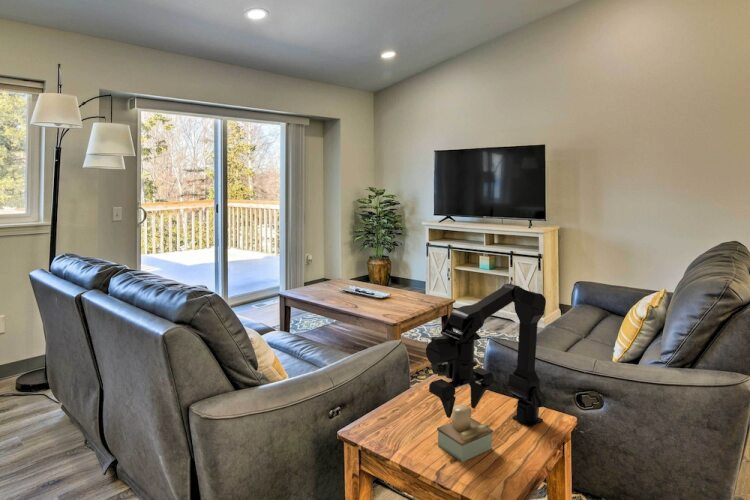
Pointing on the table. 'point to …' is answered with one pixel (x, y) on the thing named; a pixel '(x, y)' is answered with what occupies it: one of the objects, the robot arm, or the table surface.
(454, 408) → the dome-topped beige cylinder
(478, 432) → the lid
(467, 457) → the box body
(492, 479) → the table surface
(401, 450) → the table surface
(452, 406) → the robot arm
